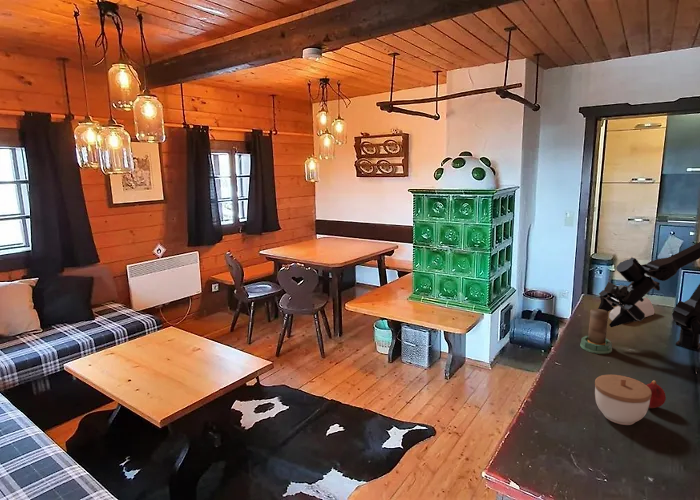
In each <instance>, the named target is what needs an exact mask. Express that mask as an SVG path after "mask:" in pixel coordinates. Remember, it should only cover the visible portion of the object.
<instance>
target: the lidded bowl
mask: <svg viewBox="0 0 700 500" xmlns="http://www.w3.org/2000/svg"><path fill="white" fill-rule="evenodd" d="M651 395H652V392H651V390H650V388H649V387H648V386H647V384H645V383H643V382H642V381H640V380H638V379H635V378H632V377H628V376H627V375H626V376H625V375H619V374H602V375H599V376H598V377H596V378H595V380H594V398H595V403H596V405H597V407H598V410H600V412H601V413H602V414H603V416H604V417H605V419H607V420H608V421H610V422H612V423H614V424H618V425H621V426H631V425H634V424H635V423H636V422H639V421H641V420H642V419H643V418H644V417H645V416H646V414H647V413H648V410H649V409H650V408H649V404H650V399H651Z"/></svg>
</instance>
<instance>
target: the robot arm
mask: <svg viewBox="0 0 700 500" xmlns="http://www.w3.org/2000/svg"><path fill="white" fill-rule="evenodd" d="M698 260H700V241H699V242H697V243H695V244H693V245H690V246H689V247H687V248H685V249H683V250H681V251H679V252H676V253H675V254H673V255H670V256H667V257H662V258H657V259H654V260H651V261H648V262H647V263H645V264H641V263H640V262H639V261H638V260H637V258H635V257H632V256H631V257H630V258H629V259H625V260H623V261H620V262H619V263H618V264H617V265H616V267H615V268H616V271H617V272H618V273H619V274H620V275H621V277H623V279H625V280H626V281H627V282H628V283H630V284H628V285H625V284H624V285H622V284H621V285H618V284H617V285H616V284H614V283H612V282H610V281H608V282H607V283H606V285H605V287H604V289H603V290H601V291H600V292H599V293H598V296H599V299H600V303H599V305H598V308H597V309H602V310H606V311H608V313H610V312H611V311H612V309H614V308H615V307H617V306H620V307H621V309H620V313H619V314H618V315H617V317H616V318H615V319H614V320H613V321H612V320H611V322H610V323H609V324H608V326H609V327H610V328H614V327H617V326H620V325H624V324H629V323H632V322H636V323H637V322H638V321H639V322H642V321H643V320H644V319H645V318H646V317H645V314H644V313H643V312H642V311H641V310H640V309H639V308H638V307H637V306H636V305H635V304H636V303H637V302H638V301H641V302H642V301H643V300H644V299H643V298H645V296H646V295H647V294H648V293H649V292H650V291H651V290H653V289H654V290H656V291H660V290H661V289H660V288H661V287H660V281H662V282H665V281H668V280H670V278H672V277H674V276H675V275H676V274H677V273H678V271H679V270H680V269H681V268H683V267H686V266H688V265H689V264H691V263H693V262H695V261H698ZM646 275H647V276H646ZM654 279H656V280H658V281H659V282H658V281H655V280H654ZM623 305H624V306H623ZM672 311H673V312H672V315H671V316H672V319H673V321H674V323H675V325H676V326H678V327H680V331H679V338H678V341H676V342H675V343H674V344H675V346H679V347H683V348H687V349H691V350H695V351H697V350H699V349H700V283H699V284H698V285H697V287H696V288H695V289H694V291H693V293H692V294H691V295H690V297H689V299H687V300H685V301H682V300H679V301H678V302H677V304H676V305H675V307H674V308H673V309H672ZM636 319H637V320H636Z"/></svg>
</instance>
